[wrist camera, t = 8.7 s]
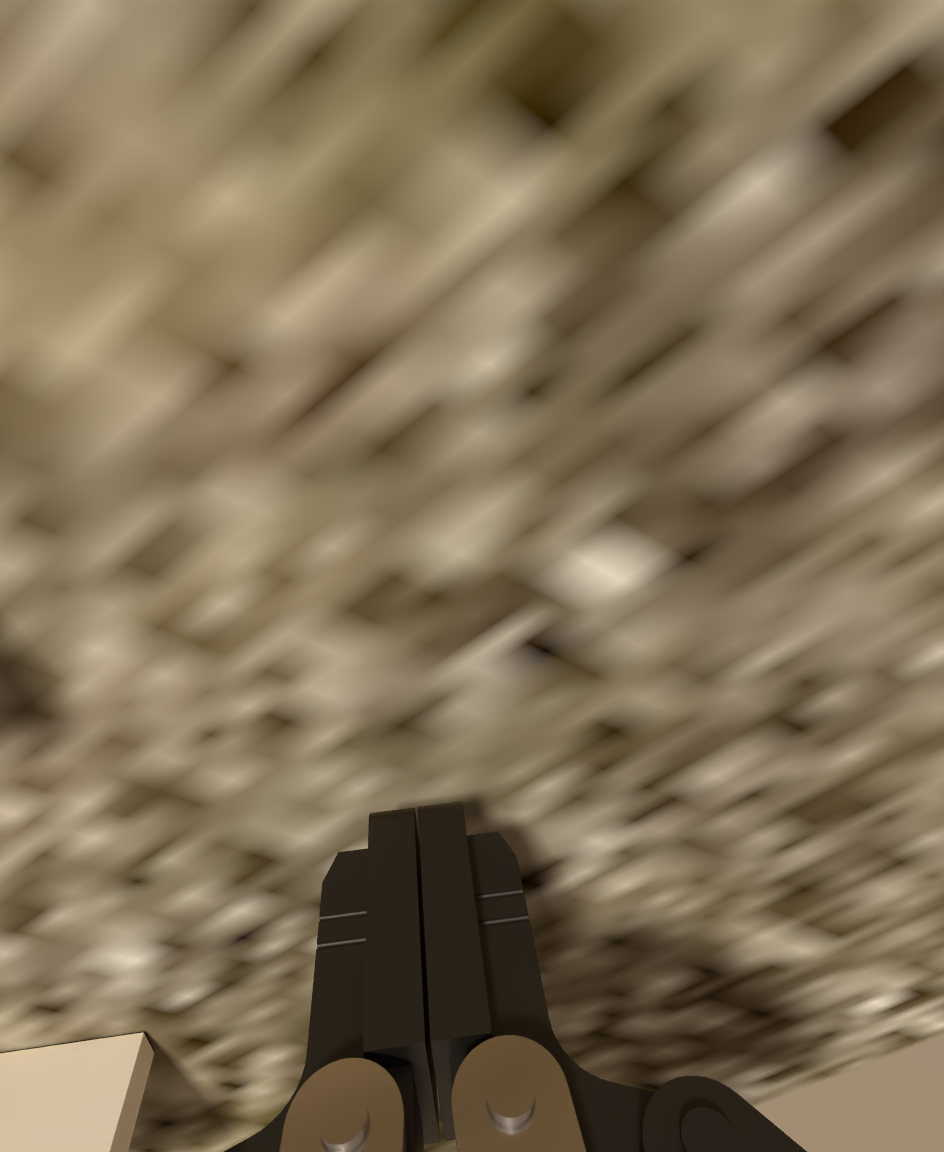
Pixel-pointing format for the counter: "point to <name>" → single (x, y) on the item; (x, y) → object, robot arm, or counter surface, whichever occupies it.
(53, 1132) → the bin
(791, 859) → the counter surface
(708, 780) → the counter surface
